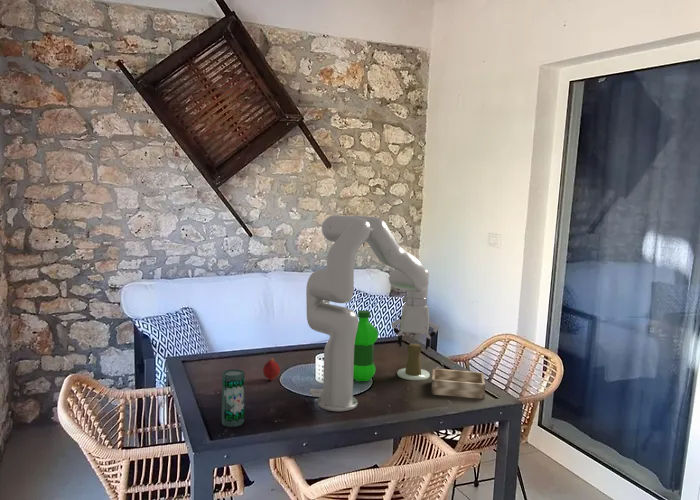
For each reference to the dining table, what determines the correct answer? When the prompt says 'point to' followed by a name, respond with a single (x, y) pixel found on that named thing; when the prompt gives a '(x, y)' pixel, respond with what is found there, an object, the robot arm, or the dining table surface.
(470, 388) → the box
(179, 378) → the dining table surface
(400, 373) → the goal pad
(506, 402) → the dining table surface
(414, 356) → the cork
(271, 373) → the onion
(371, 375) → the plastic bottle
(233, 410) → the can
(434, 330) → the robot arm
